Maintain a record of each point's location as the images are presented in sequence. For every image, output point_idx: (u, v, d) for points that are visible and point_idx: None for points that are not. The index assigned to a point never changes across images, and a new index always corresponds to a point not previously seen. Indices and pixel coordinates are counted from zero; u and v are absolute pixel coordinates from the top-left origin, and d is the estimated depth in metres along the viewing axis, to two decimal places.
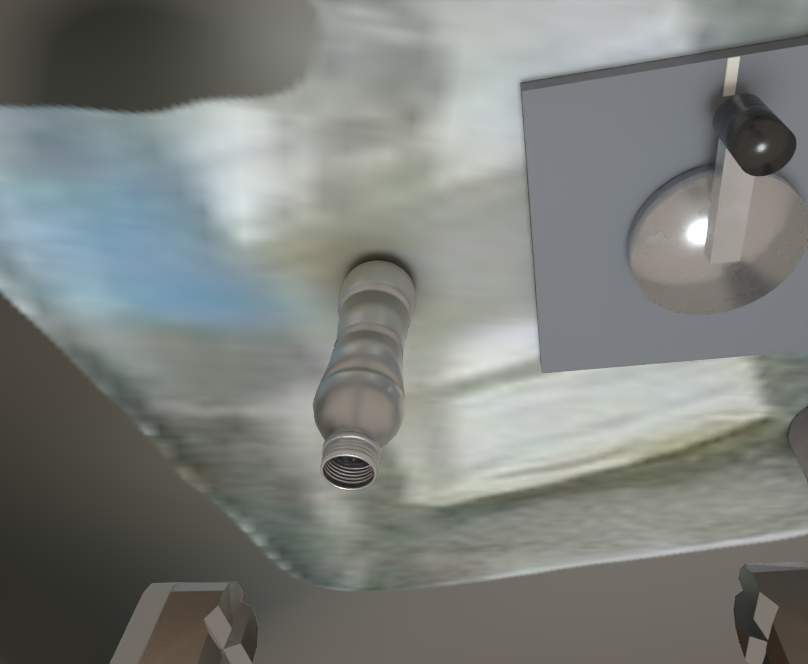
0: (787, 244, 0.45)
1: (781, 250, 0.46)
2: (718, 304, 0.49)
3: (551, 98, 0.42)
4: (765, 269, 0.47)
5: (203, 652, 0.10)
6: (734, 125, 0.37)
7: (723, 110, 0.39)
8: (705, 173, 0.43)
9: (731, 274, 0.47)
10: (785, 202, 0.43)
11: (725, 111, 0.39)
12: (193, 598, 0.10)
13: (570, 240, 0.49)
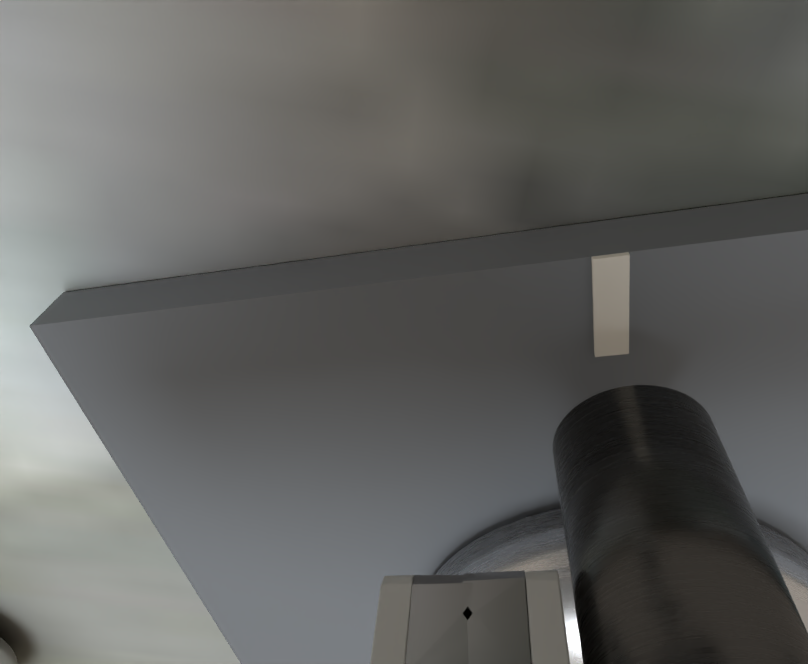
0: None
1: None
2: None
3: (116, 345, 0.15)
4: None
5: (474, 649, 0.09)
6: (588, 546, 0.10)
7: (571, 441, 0.11)
8: None
9: None
10: None
11: (575, 450, 0.11)
12: (437, 593, 0.10)
13: (292, 617, 0.21)
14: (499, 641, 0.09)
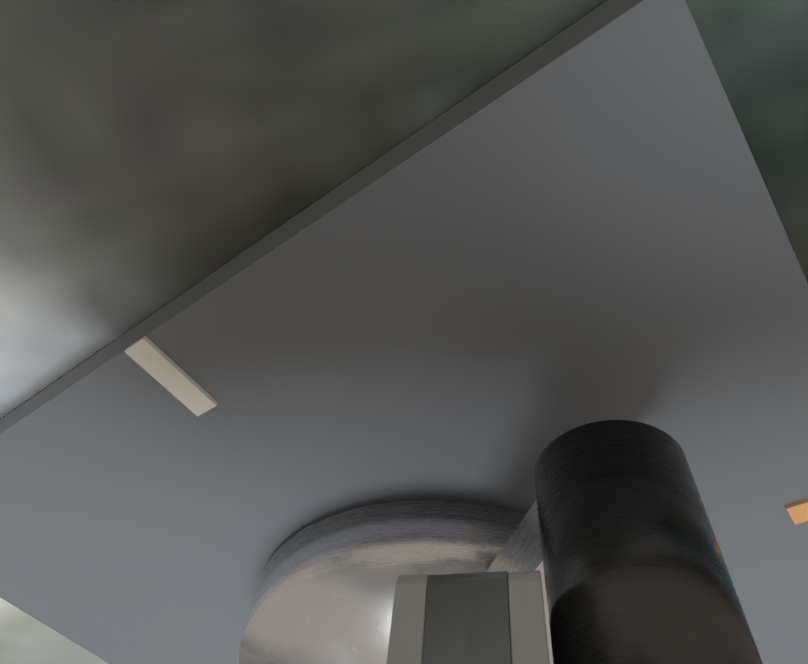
0: None
1: None
2: None
3: None
4: None
5: (491, 649, 0.09)
6: (598, 556, 0.10)
7: (581, 453, 0.12)
8: (476, 536, 0.16)
9: None
10: None
11: (586, 463, 0.11)
12: (453, 592, 0.10)
13: None
14: (480, 642, 0.09)
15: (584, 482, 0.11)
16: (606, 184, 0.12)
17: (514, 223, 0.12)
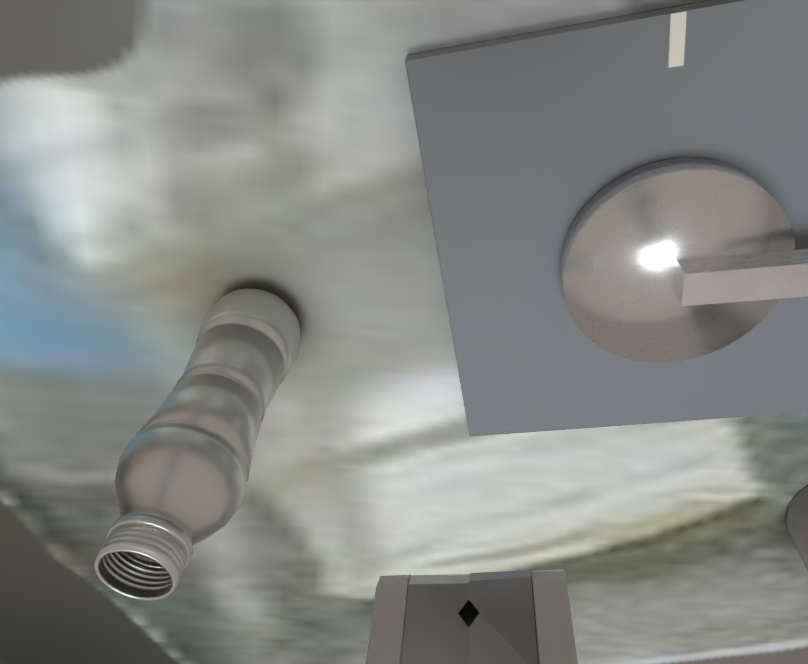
0: (666, 344, 0.38)
1: (659, 340, 0.37)
2: (581, 293, 0.36)
3: (444, 71, 0.32)
4: (631, 331, 0.37)
5: (469, 649, 0.09)
6: None
7: None
8: None
9: (632, 297, 0.36)
10: (731, 329, 0.37)
11: None
12: (433, 592, 0.10)
13: (487, 264, 0.38)
14: (506, 642, 0.09)
15: None
16: None
17: None
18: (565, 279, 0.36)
